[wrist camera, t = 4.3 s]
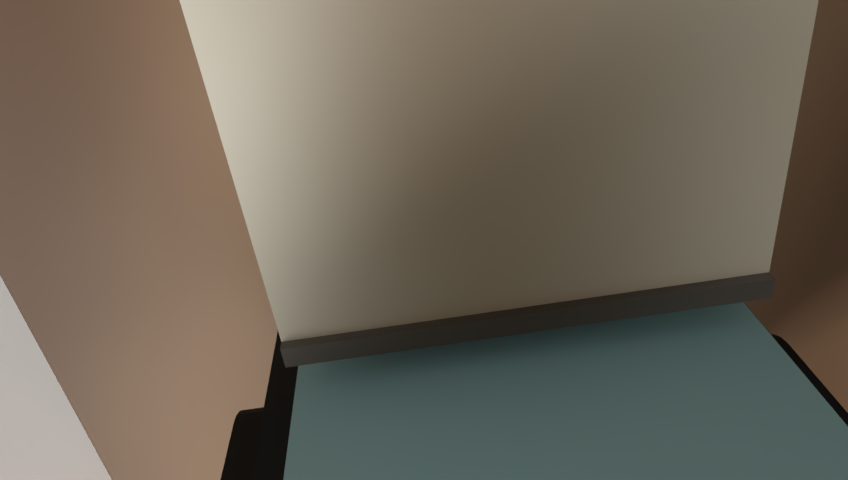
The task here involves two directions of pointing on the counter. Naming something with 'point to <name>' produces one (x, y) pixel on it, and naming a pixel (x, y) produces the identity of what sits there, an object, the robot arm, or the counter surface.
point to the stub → (572, 407)
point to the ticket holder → (402, 187)
